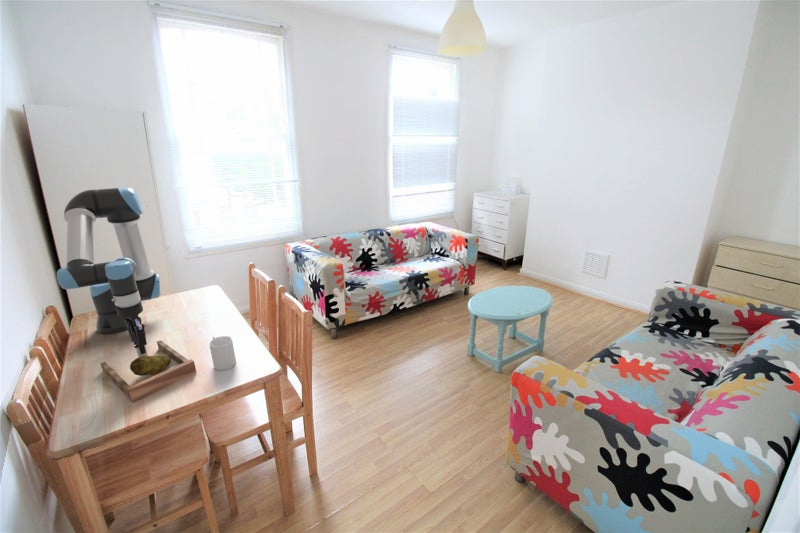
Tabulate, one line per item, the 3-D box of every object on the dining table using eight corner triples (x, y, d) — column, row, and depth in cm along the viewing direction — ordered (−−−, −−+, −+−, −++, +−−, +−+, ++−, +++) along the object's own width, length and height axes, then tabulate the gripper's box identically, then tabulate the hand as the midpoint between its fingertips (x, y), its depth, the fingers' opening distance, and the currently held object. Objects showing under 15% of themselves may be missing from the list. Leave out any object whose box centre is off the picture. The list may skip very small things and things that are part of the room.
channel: (102, 371, 141) (99, 360, 139) (162, 347, 157) (159, 337, 155) (133, 402, 124) (129, 390, 122) (196, 372, 140) (193, 361, 138)
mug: (239, 364, 144) (235, 341, 141) (218, 373, 139) (213, 349, 136) (228, 352, 152) (223, 330, 149) (207, 360, 147) (202, 337, 144)
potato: (175, 370, 141) (171, 352, 138) (135, 385, 133) (129, 366, 130) (170, 361, 147) (166, 344, 144) (131, 375, 139) (126, 356, 136)
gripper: (109, 302, 133) (126, 358, 141) (122, 312, 126) (139, 370, 134) (133, 295, 139) (148, 350, 147) (147, 304, 131) (162, 361, 139)
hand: (144, 359), depth 140 cm, fingers closed
